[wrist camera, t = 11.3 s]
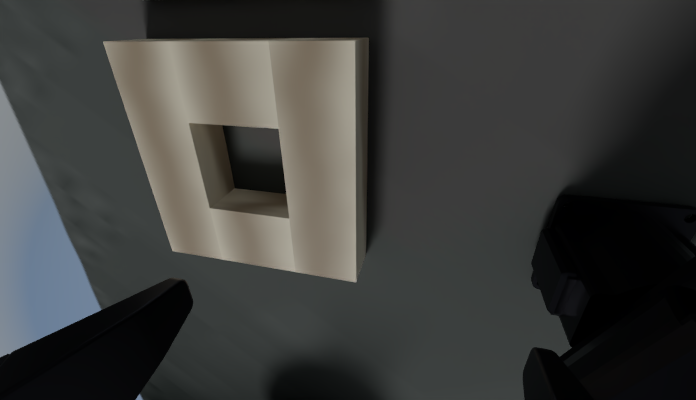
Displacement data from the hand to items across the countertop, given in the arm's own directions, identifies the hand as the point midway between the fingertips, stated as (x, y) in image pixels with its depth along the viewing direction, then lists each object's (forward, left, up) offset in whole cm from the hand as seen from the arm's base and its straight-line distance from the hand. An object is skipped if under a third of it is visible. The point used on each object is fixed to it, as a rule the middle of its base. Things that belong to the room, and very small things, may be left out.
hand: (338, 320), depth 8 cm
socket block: (+9, +1, -13) cm, 16 cm away
